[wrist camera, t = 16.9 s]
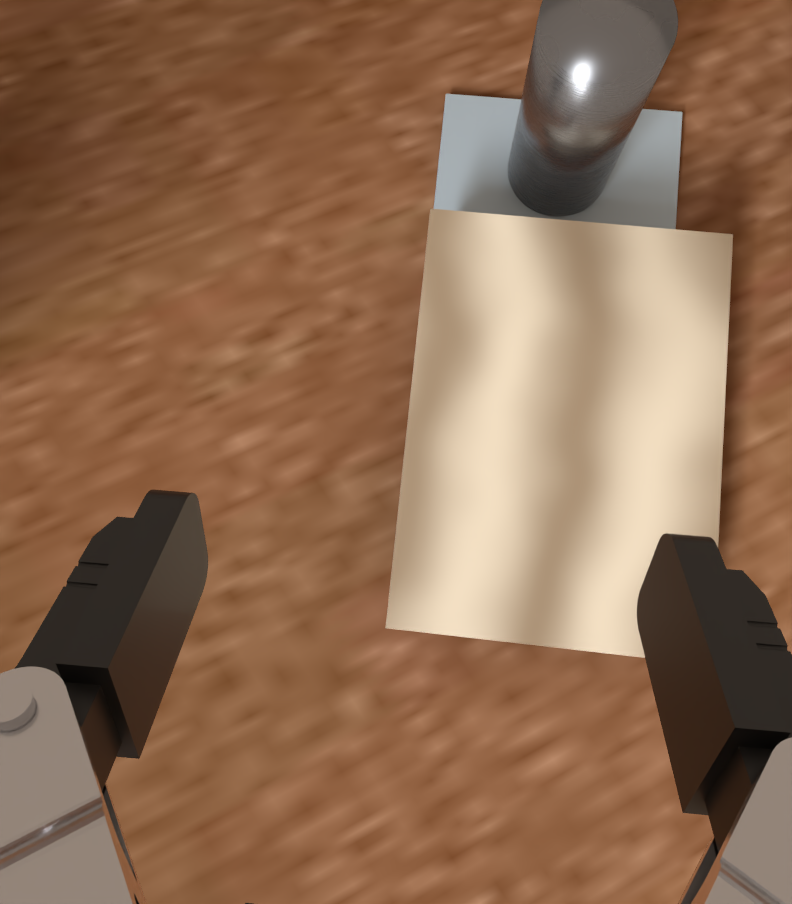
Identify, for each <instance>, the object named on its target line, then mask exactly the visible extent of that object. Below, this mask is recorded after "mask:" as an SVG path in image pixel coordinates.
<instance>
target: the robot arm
mask: <svg viewBox="0 0 792 904" xmlns="http://www.w3.org/2000/svg"><path fill="white" fill-rule="evenodd" d="M78 562H79V564H78V566H76V567H75V568H74V570H73V572H72V573H71V575H70V577H69V578H68V580H67V585H66V587H63V589H62V590H61V592H60V594H59V596H58V597H57V599H56V601H55V602H54V604H53V606H52V607H51V609H50V611H49V613H48V614H47V616H46V618H45V619H44V621H43V623H42V625H41V626H40V628H39V630H38V631H37V633H36V635H35V637H34V638H33V640H32V642H31V643H30V645H29V647H28V648H27V650H26V652H25V654H24V655H23V657H22V659H21V660H20V662H19V663H18V665H17V666H16V667H15V669H12V670H9V671H6V672H3V673H1V674H0V904H147V903H146V900H145V897H144V894H143V891H142V889H141V886H140V883H139V880H138V877H137V874H136V871H135V868H134V865H133V862H132V859H131V856H130V853H129V850H128V847H127V844H126V841H125V838H124V835H123V832H122V829H121V825H120V822H119V819H118V816H117V813H116V810H115V807H114V804H113V801H112V798H111V795H110V792H109V789H108V786H107V784H106V780H107V778H108V776H109V773H110V771H111V768H112V766H113V763H114V761H115V758H116V756H117V757H127V758H138V759H139V758H140V755H141V753H142V750H143V748H144V745H145V742H146V740H147V737H148V734H149V732H150V729H151V726H152V724H153V721H154V719H155V716H156V713H157V711H158V708H159V705H160V703H161V700H162V697H163V695H164V692H165V690H166V687H167V684H168V682H169V679H170V676H171V674H172V671H173V668H174V666H175V663H176V661H177V658H178V655H179V653H180V650H181V647H182V645H183V642H184V639H185V637H186V634H187V631H188V629H189V626H190V624H191V621H192V618H193V616H194V613H195V610H196V608H197V605H198V602H199V600H200V597H201V595H202V592H203V589H204V586H205V582H206V577H207V570H208V553H207V547H206V541H205V535H204V529H203V524H202V518H201V512H200V506H199V501H198V498H197V496H196V494H195V493H187V492H175V491H162V490H150V491H149V492H148V493H147V494H146V496H145V498H144V499H143V501H142V503H141V505H140V507H139V509H138V511H137V512H136V514H135V516H134V518H125V517H116V518H115V519H114V520H113V521H111V522H110V523H109V524H108V525H107V526H105V527H104V528H103V529H102V530H101V531H99V532H98V533H97V534H96V535H95V536H93V537H92V539H91V541H90V543H89V544H88V546H87V548H86V549H85V551H84V553H83V555H82V556H81V558H80V560H79V561H78ZM637 624H638V630H639V634H640V638H641V642H642V646H643V650H644V655H645V659H646V663H647V667H648V671H649V675H650V679H651V683H652V688H653V692H654V696H655V700H656V704H657V708H658V712H659V716H660V721H661V725H662V729H663V733H664V737H665V741H666V745H667V749H668V753H669V758H670V762H671V766H672V770H673V774H674V778H675V782H676V786H677V791H678V795H679V799H680V803H681V807H682V811H683V813H691V814H702V815H709V819H710V823H711V826H712V830H713V834H714V836H713V837H712V839H711V840H710V842H709V843H708V845H707V847H706V849H705V851H704V853H703V855H702V857H701V859H700V861H699V863H698V865H697V867H696V869H695V871H694V873H693V875H692V877H691V879H690V881H689V883H688V884H687V886H686V888H685V890H684V892H683V894H682V896H681V898H680V900H679V902H678V904H792V655H791V652H789V651H787V643H786V641H785V639H784V637H783V634H782V632H781V630H780V629H778V628H777V624H778V623H777V621H776V618H775V616H774V614H773V611H772V609H771V607H770V605H769V602H768V600H767V598H766V596H765V594H764V593H763V592H762V591H761V590H760V589H759V588H758V587H757V586H756V585H755V584H754V583H753V582H752V580H751V579H750V578H749V577H748V576H747V575H746V574H745V573H744V572H743V571H742V570H730V569H726V567H725V565H724V562H723V559H722V557H721V554H720V552H719V549H718V547H717V545H716V543H715V541H714V540H713V539H712V538H711V537H705V536H693V535H681V534H669V533H665V534H663V535H662V536H661V538H660V540H659V542H658V544H657V547H656V550H655V552H654V555H653V558H652V560H651V563H650V565H649V568H648V571H647V573H646V576H645V579H644V581H643V584H642V586H641V589H640V592H639V596H638V601H637ZM245 904H252V903H245Z"/></svg>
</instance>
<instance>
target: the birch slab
mask: <svg viewBox="0 0 792 904" xmlns="http://www.w3.org/2000/svg"><path fill="white" fill-rule="evenodd" d="M732 246H733V234H724V233H712V232H700V231H688V230H677V229H665V228H653V227H641V226H630V225H618V224H606V223H594V222H583V221H571V220H559V219H547V218H536V217H524V216H512V215H500V214H489V213H477V212H465V211H453V210H442V209H430V218H429V227H428V236H427V246H426V255H425V264H424V274H423V283H422V292H421V302H420V311H419V320H418V330H417V339H416V348H415V358H414V367H413V376H412V386H411V395H410V404H409V414H408V423H407V432H406V442H405V451H404V460H403V470H402V479H401V488H400V498H399V507H398V517H397V526H396V535H395V545H394V554H393V563H392V573H391V582H390V591H389V601H388V610H387V619H386V628H390V629H398V630H407V631H416V632H424V633H433V634H442V635H451V636H459V637H468V638H477V639H486V640H494V641H503V642H512V643H521V644H529V645H538V646H547V647H556V648H564V649H573V650H582V651H590V652H599V653H608V654H617V655H625V656H634V657H643V658H645V655H644V650H643V646H642V642H641V638H640V634H639V630H638V624H637V601H638V596H639V592H640V589H641V586H642V584H643V581H644V579H645V576H646V573H647V571H648V568H649V565H650V563H651V560H652V558H653V555H654V552H655V550H656V547H657V544H658V542H659V540H660V538H661V536H662V535H663V534H665V533H669V534H681V535H693V536H705V537H711V538H712V539H713V540H714V541H715V543H716V545H717V547H718V540H719V519H720V498H721V477H722V456H723V435H724V414H725V393H726V372H727V351H728V330H729V309H730V288H731V267H732Z"/></svg>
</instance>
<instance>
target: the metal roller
mask: <svg viewBox="0 0 792 904" xmlns="http://www.w3.org/2000/svg"><path fill="white" fill-rule="evenodd" d="M677 30H678V15H677V10H676V6H675V3H674V1H673V0H543V1H542V4H541V7H540V12H539V17H538V21H537V26H536V31H535V36H534V41H533V46H532V50H531V55H530V60H529V65H528V70H527V74H526V79H525V84H524V89H523V94H522V98H521V103H520V108H519V113H518V118H517V123H516V127H515V132H514V137H513V142H512V147H511V151H510V156H509V161H508V178H509V183H510V185H511V188H512V190H513V192H514V193H515V195H516V196H517V197H518V199H519V200H520V201H521V202H522V203H523V204H524V205H526V206H527V207H528V208H530V209H532V210H533V211H536V212H538V213H540V214H544V215H548V216H568V215H573V214H576V213H579V212H581V211H583V210H585V209H586V208H588V207H589V206H590V205H592V204H593V203H594V202H595V201H596V200H597V199H598V197H599V196H600V195H601V193H602V191H603V189H604V187H605V185H606V183H607V181H608V179H609V177H610V175H611V173H612V171H613V169H614V167H615V164H616V162H617V160H618V158H619V156H620V154H621V152H622V150H623V148H624V146H625V144H626V142H627V140H628V138H629V136H630V133H631V131H632V129H633V127H634V125H635V123H636V121H637V119H638V117H639V115H640V113H641V111H642V109H643V107H644V104H645V102H646V100H647V98H648V96H649V94H650V92H651V90H652V88H653V86H654V84H655V82H656V80H657V78H658V76H659V73H660V71H661V69H662V67H663V65H664V63H665V61H666V59H667V57H668V55H669V53H670V51H671V49H672V47H673V44H674V42H675V39H676V36H677Z"/></svg>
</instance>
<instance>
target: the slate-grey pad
mask: <svg viewBox="0 0 792 904" xmlns="http://www.w3.org/2000/svg"><path fill="white" fill-rule="evenodd" d="M520 103H521V99H509V98H496V97H483V96H470V95H457V94H446V98H445V107H444V117H443V126H442V136H441V145H440V154H439V164H438V173H437V183H436V192H435V201H434V209H442V210H453V211H465V212H477V213H489V214H500V215H512V216H524V217H536V218H547V219H559V220H571V221H583V222H594V223H606V224H618V225H630V226H641V227H653V228H665V229H676V214H677V197H678V180H679V163H680V146H681V129H682V112H677V111H664V110H651V109H642V111H641V113H640V115H639V117H638V119H637V121H636V123H635V125H634V127H633V129H632V131H631V133H630V136H629V138H628V140H627V142H626V144H625V146H624V148H623V150H622V152H621V154H620V156H619V158H618V160H617V162H616V164H615V167H614V169H613V171H612V173H611V175H610V177H609V179H608V181H607V183H606V185H605V187H604V189H603V191H602V193H601V195H600V196H599V197H598V199H597V200H596V201H595V202H594V203H593V204H592V205H590V206H589V207H588V208H586V209H585V210H583V211H581V212H579V213H576V214H573V215H568V216H548V215H544V214H540V213H538V212H536V211H533V210H532V209H530V208H528V207H527V206H526V205H524V204H523V203H522V202H521V201H520V200H519V199H518V197H517V196H516V195H515V193H514V192H513V190H512V188H511V185H510V183H509V178H508V161H509V156H510V151H511V147H512V142H513V137H514V132H515V127H516V123H517V118H518V113H519V108H520Z"/></svg>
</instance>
